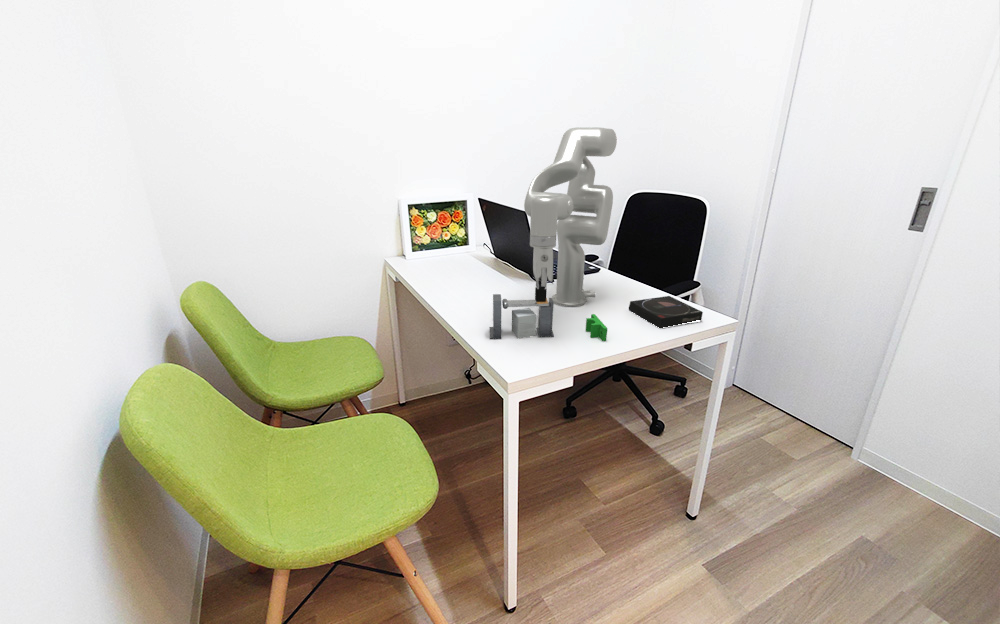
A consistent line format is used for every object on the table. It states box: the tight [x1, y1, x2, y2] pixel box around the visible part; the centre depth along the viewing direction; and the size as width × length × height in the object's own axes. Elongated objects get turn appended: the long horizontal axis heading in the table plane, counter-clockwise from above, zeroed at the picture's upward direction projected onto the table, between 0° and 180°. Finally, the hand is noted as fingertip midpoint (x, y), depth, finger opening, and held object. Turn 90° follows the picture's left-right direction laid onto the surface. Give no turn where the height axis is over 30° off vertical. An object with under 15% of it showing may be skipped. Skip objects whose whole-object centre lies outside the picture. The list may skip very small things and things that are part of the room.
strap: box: [501, 297, 549, 310], centre depth 134 cm, size 14×4×2 cm, turn 92°
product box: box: [511, 307, 537, 339], centre depth 137 cm, size 6×6×7 cm
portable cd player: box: [628, 295, 704, 329], centre depth 151 cm, size 16×17×4 cm
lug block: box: [536, 297, 555, 338], centre depth 136 cm, size 5×6×11 cm
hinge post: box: [489, 293, 502, 340], centre depth 136 cm, size 4×8×12 cm, turn 2°
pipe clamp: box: [585, 313, 608, 342], centre depth 137 cm, size 11×4×5 cm, turn 8°
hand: (540, 300), depth 134 cm, fingers closed
